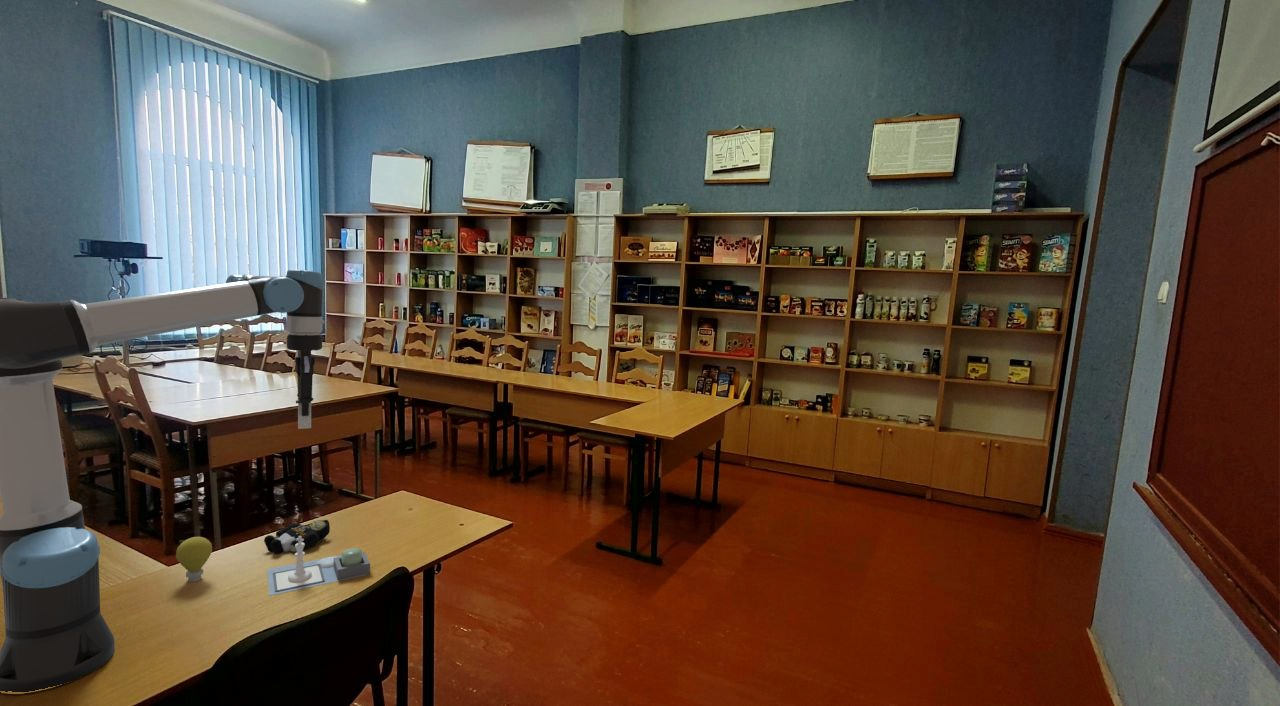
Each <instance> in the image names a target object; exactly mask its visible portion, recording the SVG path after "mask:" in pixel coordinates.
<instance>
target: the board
mask: <svg viewBox="0 0 1280 706" xmlns="http://www.w3.org/2000/svg"><path fill="white" fill-rule="evenodd" d="M296 565H297V563H294V564H288V565H283V566H277V567H272V568H271V567H270V568H267V569H266V571H267V581H268V593H269V596H270V597H271V596H275V595H280V594H284V593H288V592H294V591H300V590H303V589H308V588H312V587H318V586H322V585H327V584H331V583H335V582H340V581H344V580H345V581H346V580H350V579H354V578H359V577H364V576H369V574H371V562H370V560H369V558H368V556H367V554H366V552H365V551H364V552H363V551H362V563H360V564H355V565H350V566H345V567H342V554H340V555H335V556H328V557H324V558H319V559H313V560H309V561H305V562H304V561H303V566H304V568H305V569H308V570H310V571H311V574H312V576H311V577H310V578H308V579H307V580H304V581H300V582H291V581H288V575H289V574H290V573H291V572H293V571H294V570H296Z"/></svg>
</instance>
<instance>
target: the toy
mask: <svg viewBox="0 0 1280 706" xmlns="http://www.w3.org/2000/svg"><path fill="white" fill-rule="evenodd" d="M330 528H331V527H330V522H329V520H328V519H323V520H313V521H312V522H310V523H308V524H302V523H297V522H296V523H295V522H294V523H292V524H289V525H287V526H285V527H283V528H281V529H279V530H277V531H276V532H275V536H274V535H272V534H270V535H267V536H265V537H264V540H263V542H264V544H265V547H266V548H267V551H268V552H271V553H273V554H274V555H280V554H282V553H285V552H290V551H291V552H293V553H297V550H296V548H295V544H297V543H298V541H296V539H297V538H298V537H299V536H301V539H304V541H301V542H302V543H305V545H304V548H303V551H305V550H307V549H309V548H311V547H314V546H317V544H319V543H320V542H321V541H323V540H324V539H325V538H327V536H328V535H329V533H330V530H331V529H330Z"/></svg>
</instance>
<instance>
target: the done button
mask: <svg viewBox="0 0 1280 706" xmlns="http://www.w3.org/2000/svg"><path fill="white" fill-rule="evenodd" d="M362 552H363V550H362V549H361V548H359V547H352V548H348V549H345V550H342V551H341V555H342V567H345V566H350V565H355V564H360V563H362Z"/></svg>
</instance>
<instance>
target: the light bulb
mask: <svg viewBox="0 0 1280 706" xmlns="http://www.w3.org/2000/svg"><path fill="white" fill-rule="evenodd" d="M212 553H213V546H212V542H211V541H210V540H209V539H207V538H206V537H203V536H193V537H190V538H188V539H185V540H183V542H181V543H180V544H179V545H178V547H177V549H176V552H175V558H176V560H177V562H179V565H181V566H182V567H183V568H184V569H185V570H186V571H185V577H186V578H188V579H187V580H188V582H193V583H194V582H196V581H197V582H198V581H200V580H201V579H202V575H203V574H204V568H203V566H204V565H206V563H207V561H208V560H209V558H210V557H211V555H212Z"/></svg>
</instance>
